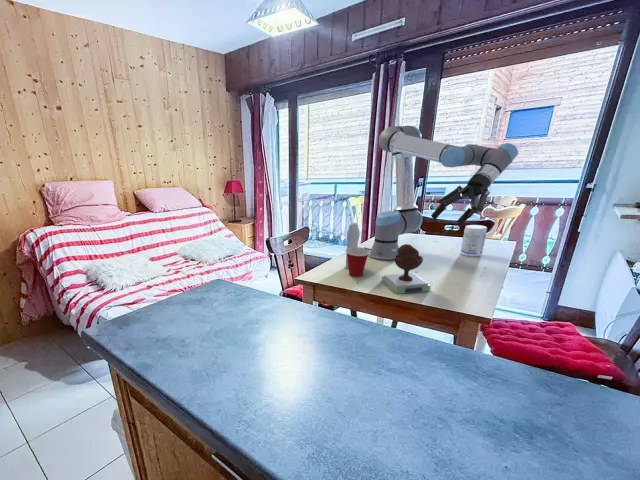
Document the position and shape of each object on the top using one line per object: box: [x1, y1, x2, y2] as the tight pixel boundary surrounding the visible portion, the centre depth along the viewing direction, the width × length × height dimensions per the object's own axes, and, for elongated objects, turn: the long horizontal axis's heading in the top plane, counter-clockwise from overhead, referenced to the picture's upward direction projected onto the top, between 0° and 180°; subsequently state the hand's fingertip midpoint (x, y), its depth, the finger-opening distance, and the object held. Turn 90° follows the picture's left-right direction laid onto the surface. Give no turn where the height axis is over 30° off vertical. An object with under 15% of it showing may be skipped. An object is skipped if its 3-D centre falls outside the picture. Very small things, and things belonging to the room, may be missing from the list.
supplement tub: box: [460, 224, 488, 258], centre depth 168 cm, size 10×10×15 cm
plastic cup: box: [344, 246, 371, 278], centre depth 150 cm, size 11×11×12 cm
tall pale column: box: [345, 222, 361, 270], centre depth 161 cm, size 11×4×22 cm, turn 134°
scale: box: [381, 272, 431, 295], centre depth 136 cm, size 15×14×3 cm
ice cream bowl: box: [394, 243, 424, 281], centre depth 133 cm, size 11×11×15 cm
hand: (445, 220), depth 133 cm, fingers open, 13 cm apart
